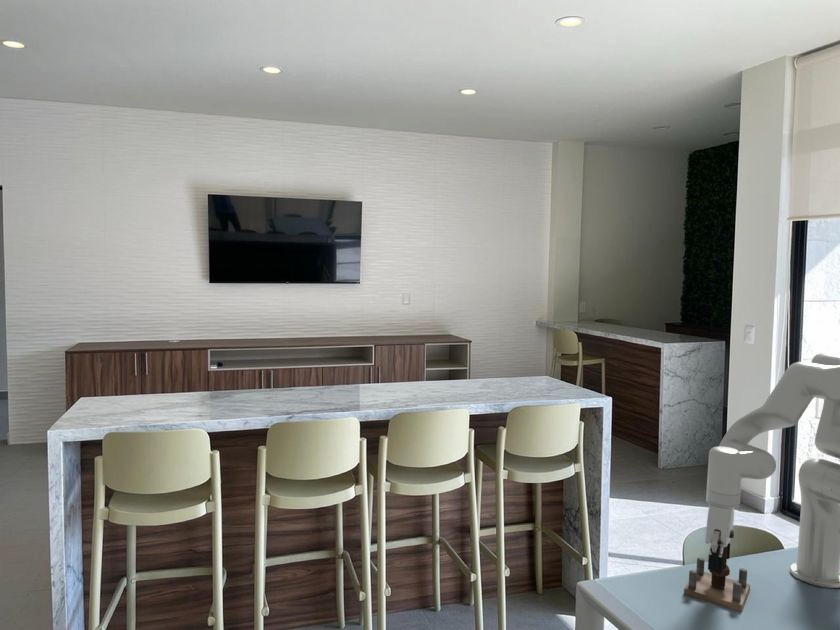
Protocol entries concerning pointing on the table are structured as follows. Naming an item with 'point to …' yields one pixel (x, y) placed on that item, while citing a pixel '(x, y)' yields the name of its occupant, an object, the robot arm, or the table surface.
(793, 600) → the table surface
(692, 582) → the peg holder
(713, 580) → the bolt
